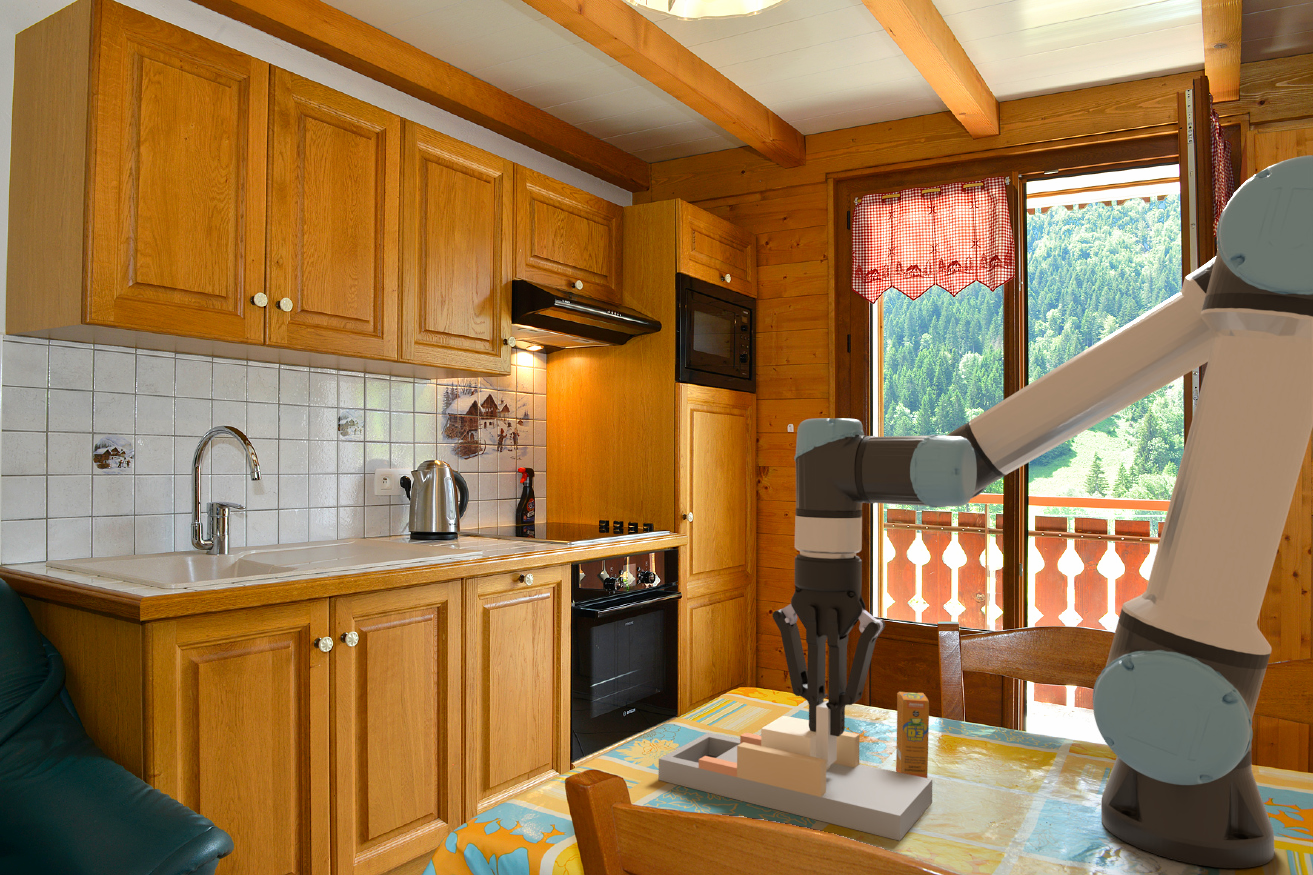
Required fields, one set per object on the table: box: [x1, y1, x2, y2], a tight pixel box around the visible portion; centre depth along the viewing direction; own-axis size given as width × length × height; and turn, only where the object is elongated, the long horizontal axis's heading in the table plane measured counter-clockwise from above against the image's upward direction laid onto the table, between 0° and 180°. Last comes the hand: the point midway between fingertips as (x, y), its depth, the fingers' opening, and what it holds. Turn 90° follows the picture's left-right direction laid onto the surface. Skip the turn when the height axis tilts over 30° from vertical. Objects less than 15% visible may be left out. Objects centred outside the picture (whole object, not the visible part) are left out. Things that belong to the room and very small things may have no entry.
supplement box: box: [895, 691, 930, 778], centre depth 103 cm, size 3×3×10 cm
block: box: [760, 715, 830, 770], centre depth 98 cm, size 6×6×5 cm
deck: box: [658, 730, 933, 842], centre depth 99 cm, size 29×12×6 cm, turn 57°
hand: (826, 761), depth 96 cm, fingers closed
